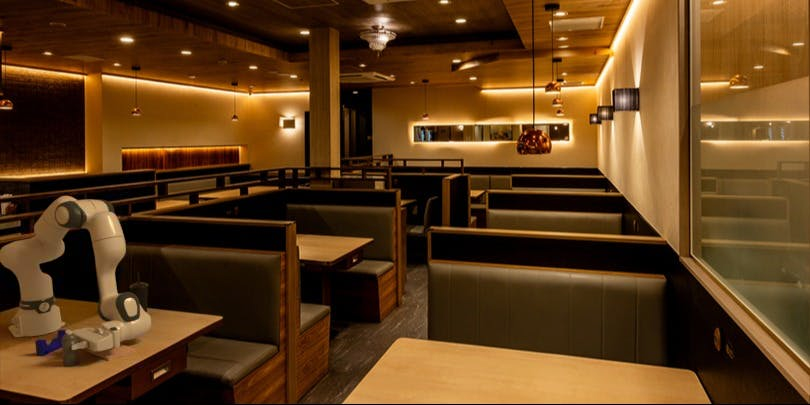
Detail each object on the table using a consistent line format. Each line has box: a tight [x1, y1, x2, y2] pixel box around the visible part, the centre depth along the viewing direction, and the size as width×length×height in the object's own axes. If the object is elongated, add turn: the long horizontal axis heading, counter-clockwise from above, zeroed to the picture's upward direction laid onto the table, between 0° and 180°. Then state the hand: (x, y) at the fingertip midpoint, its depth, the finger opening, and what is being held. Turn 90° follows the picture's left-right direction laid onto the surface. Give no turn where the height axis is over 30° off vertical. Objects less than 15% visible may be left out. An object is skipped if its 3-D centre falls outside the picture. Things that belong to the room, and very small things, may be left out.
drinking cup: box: [129, 270, 149, 313], centre depth 252 cm, size 8×8×20 cm
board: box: [86, 342, 137, 362], centre depth 209 cm, size 16×10×1 cm, turn 54°
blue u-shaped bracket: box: [34, 329, 67, 357], centre depth 212 cm, size 12×4×6 cm, turn 169°
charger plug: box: [61, 329, 80, 368], centre depth 197 cm, size 5×5×12 cm
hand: (67, 345), depth 197 cm, fingers closed on charger plug, 5 cm apart
